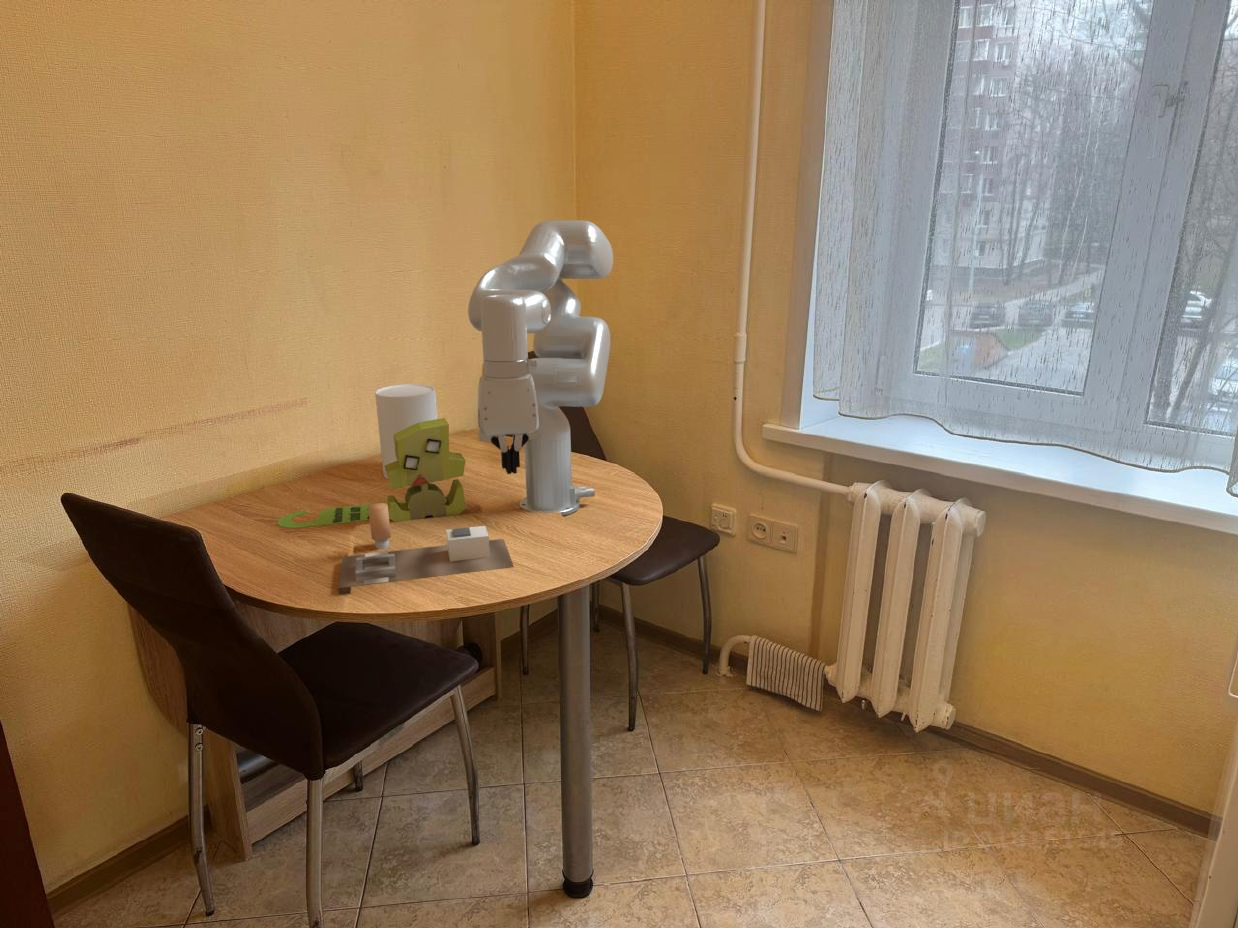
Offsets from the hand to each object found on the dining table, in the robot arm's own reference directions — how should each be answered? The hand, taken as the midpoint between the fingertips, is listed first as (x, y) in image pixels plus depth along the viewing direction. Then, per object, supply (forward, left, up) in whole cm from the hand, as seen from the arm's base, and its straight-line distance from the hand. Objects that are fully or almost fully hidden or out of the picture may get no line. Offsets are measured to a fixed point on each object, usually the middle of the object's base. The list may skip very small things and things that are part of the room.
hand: (511, 471), depth 146 cm
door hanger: (+31, -30, -17) cm, 47 cm away
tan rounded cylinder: (+23, -8, -16) cm, 30 cm away
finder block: (+8, 0, -15) cm, 17 cm away
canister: (+16, -55, -16) cm, 60 cm away
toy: (+14, -23, -16) cm, 32 cm away
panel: (+16, +1, -16) cm, 23 cm away
